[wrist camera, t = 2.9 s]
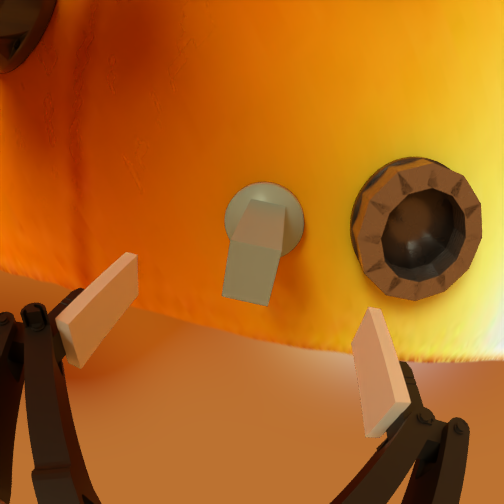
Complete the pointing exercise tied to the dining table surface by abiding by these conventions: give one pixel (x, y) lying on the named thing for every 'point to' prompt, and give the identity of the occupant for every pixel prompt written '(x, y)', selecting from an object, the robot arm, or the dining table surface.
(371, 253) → the barrel ring
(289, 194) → the toggle switch lever
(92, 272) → the dining table surface
